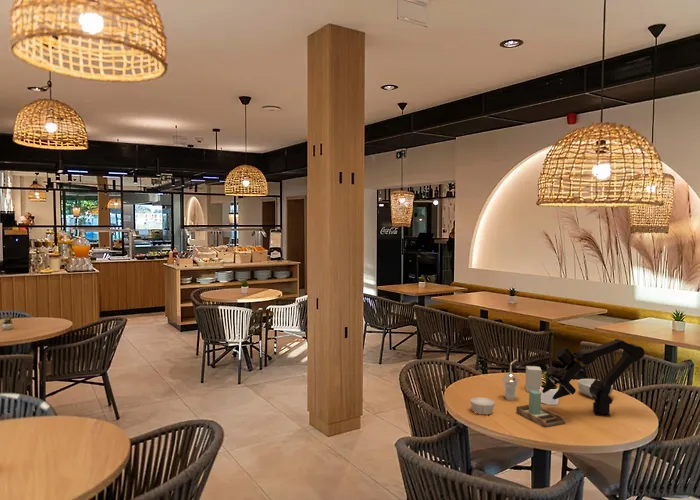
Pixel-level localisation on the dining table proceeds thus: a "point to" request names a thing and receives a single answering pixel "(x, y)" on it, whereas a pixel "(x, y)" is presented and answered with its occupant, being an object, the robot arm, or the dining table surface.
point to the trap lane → (541, 416)
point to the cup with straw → (510, 384)
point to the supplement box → (533, 378)
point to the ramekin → (482, 405)
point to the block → (534, 402)
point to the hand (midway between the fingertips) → (547, 395)
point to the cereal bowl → (588, 386)
